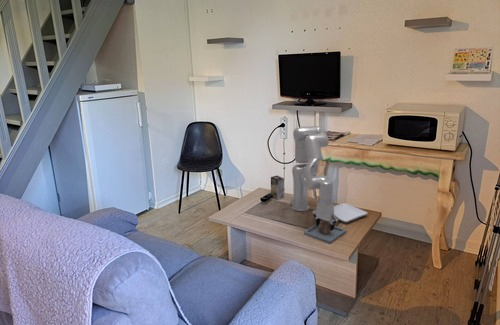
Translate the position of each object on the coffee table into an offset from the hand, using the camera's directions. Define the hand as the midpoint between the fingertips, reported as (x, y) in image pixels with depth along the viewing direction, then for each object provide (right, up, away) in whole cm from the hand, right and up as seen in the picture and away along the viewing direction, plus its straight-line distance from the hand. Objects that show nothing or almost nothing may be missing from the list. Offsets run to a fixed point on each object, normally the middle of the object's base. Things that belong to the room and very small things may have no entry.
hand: (325, 227), depth 214 cm
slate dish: (0, -4, +1) cm, 4 cm away
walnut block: (0, -3, +1) cm, 3 cm away
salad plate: (+18, +3, +24) cm, 30 cm away
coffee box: (-24, +12, +59) cm, 65 cm away
